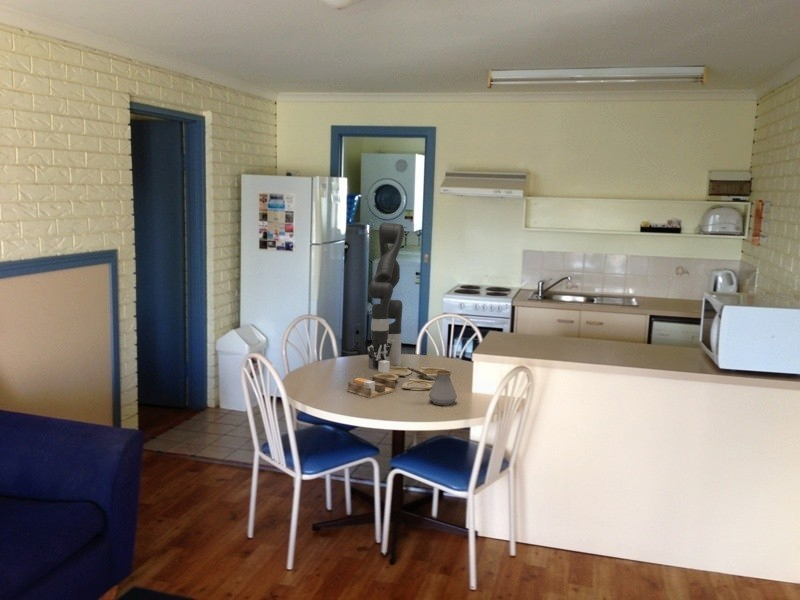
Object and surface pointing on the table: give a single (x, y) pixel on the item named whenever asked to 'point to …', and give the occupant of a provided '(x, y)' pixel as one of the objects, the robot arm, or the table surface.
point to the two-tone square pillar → (380, 365)
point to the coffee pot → (440, 387)
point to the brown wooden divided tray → (380, 387)
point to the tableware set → (398, 373)
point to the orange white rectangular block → (365, 383)
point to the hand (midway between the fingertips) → (379, 367)
